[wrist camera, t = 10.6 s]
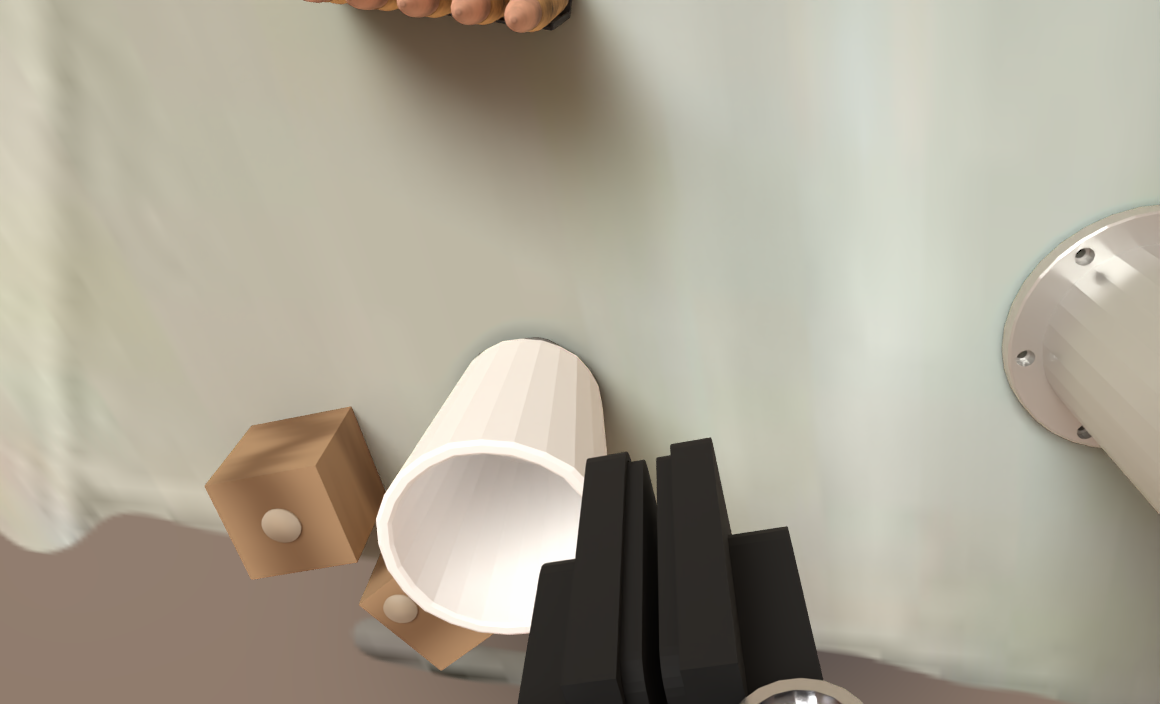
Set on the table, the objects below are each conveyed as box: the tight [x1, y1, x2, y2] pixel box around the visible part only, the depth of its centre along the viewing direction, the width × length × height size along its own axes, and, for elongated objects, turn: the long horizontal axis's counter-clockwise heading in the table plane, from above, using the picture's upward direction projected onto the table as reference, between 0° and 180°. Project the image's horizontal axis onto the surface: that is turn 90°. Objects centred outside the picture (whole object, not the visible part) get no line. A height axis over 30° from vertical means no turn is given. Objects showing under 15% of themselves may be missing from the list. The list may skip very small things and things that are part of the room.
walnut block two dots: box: [359, 553, 492, 671], centre depth 50 cm, size 6×6×6 cm
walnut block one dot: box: [205, 407, 386, 580], centre depth 48 cm, size 6×6×6 cm
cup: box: [376, 337, 607, 635], centre depth 42 cm, size 10×10×13 cm
